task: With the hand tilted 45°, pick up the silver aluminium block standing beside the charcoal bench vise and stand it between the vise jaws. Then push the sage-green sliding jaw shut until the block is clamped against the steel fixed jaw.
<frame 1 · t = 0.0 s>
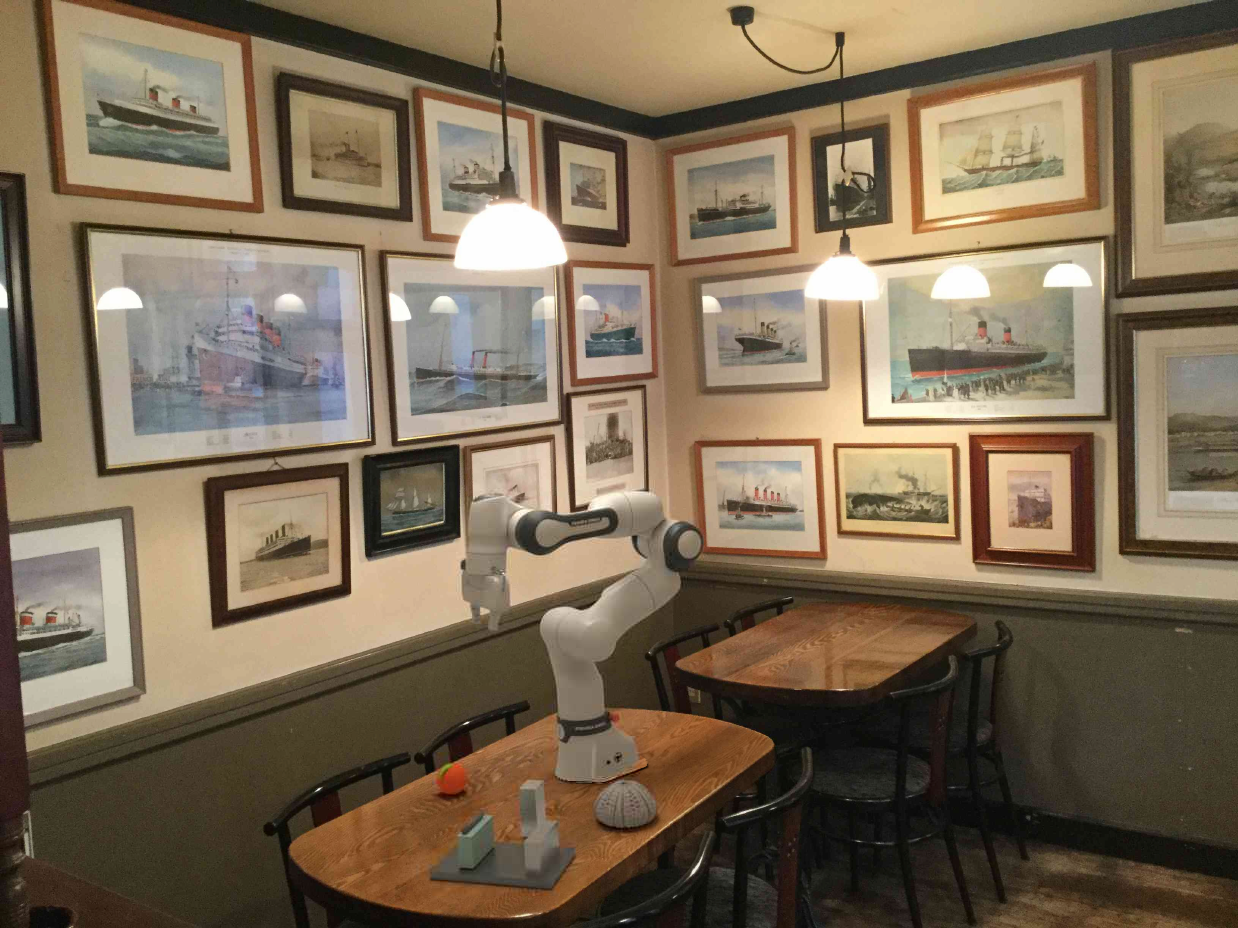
hand: (484, 626, 226), 39 cm above the table, tool pointing down, fingers open, 8 cm apart
clementine: (451, 794, 230), on the table
sliding jaw: (475, 837, 193), point 5 cm above the table, slide at 0.0 cm
block: (534, 831, 207), on the table
vise: (504, 866, 191), on the table
sea urchin shell: (626, 820, 210), on the table
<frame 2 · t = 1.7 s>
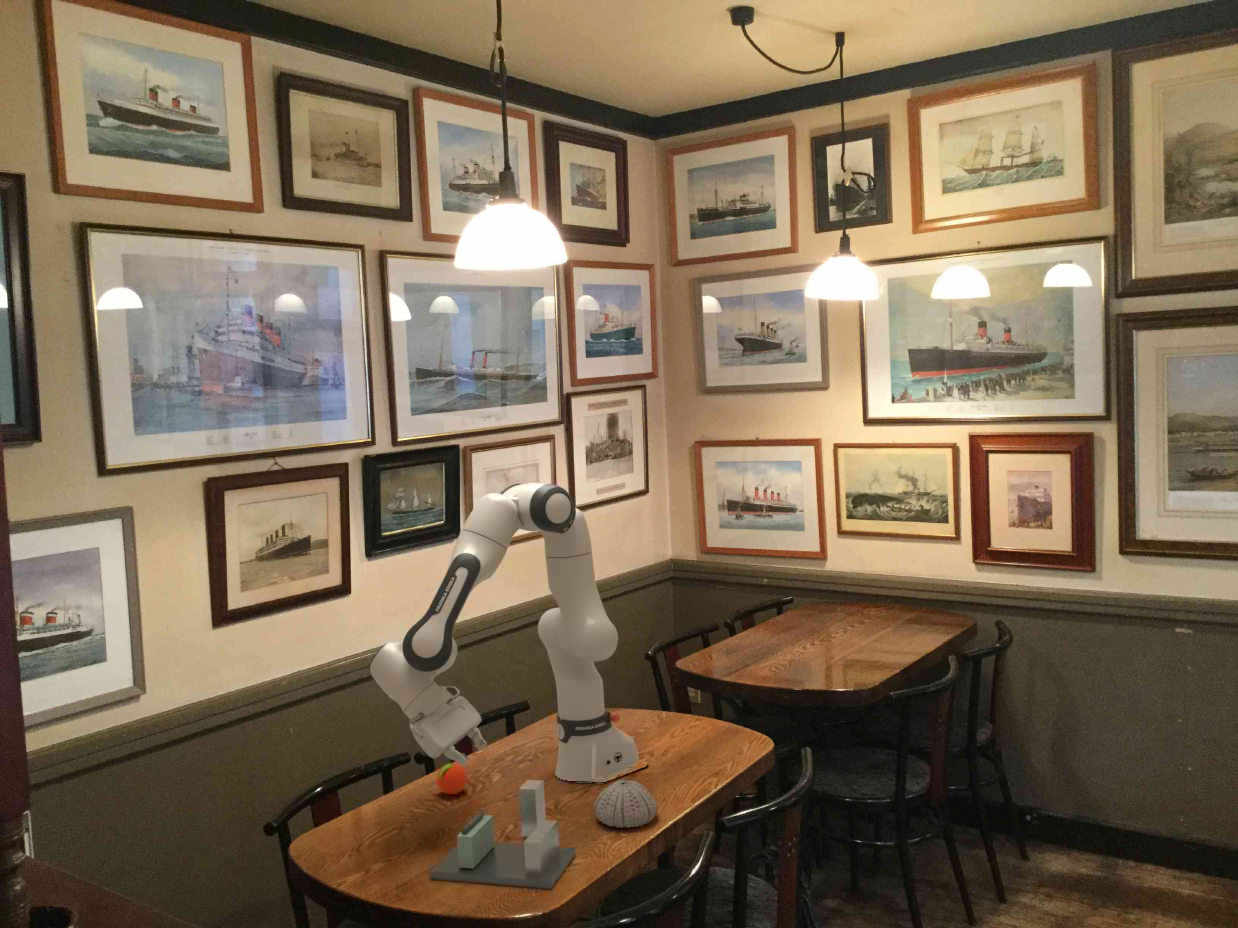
hand: (474, 755, 209), 16 cm above the table, tool tilted 45°, fingers open, 8 cm apart
nothing on the table moved.
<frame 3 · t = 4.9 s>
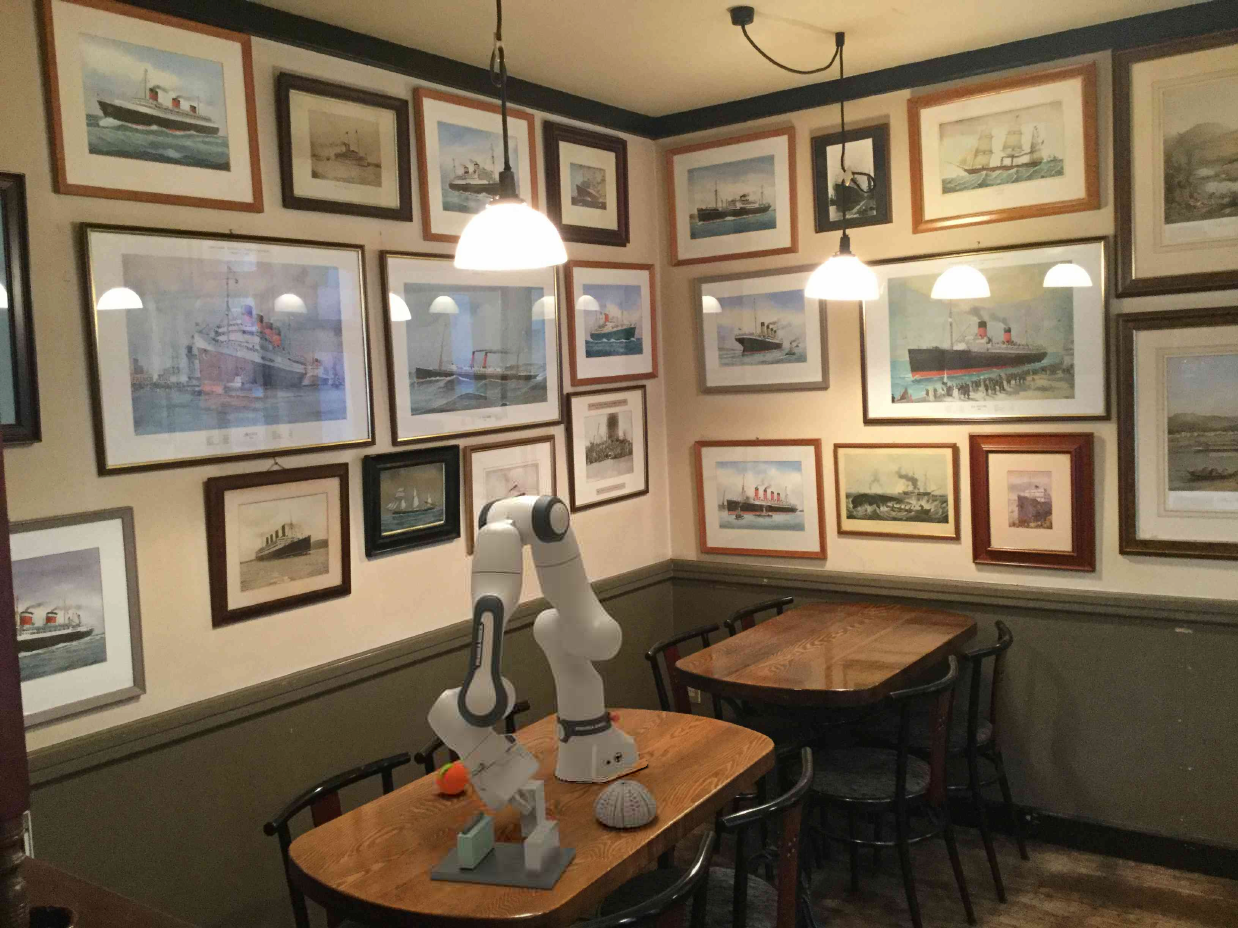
hand: (535, 805, 206), 6 cm above the table, tool tilted 45°, fingers closed on block, 5 cm apart
block: (534, 831, 207), on the table, touching gripper
everything else where it was.
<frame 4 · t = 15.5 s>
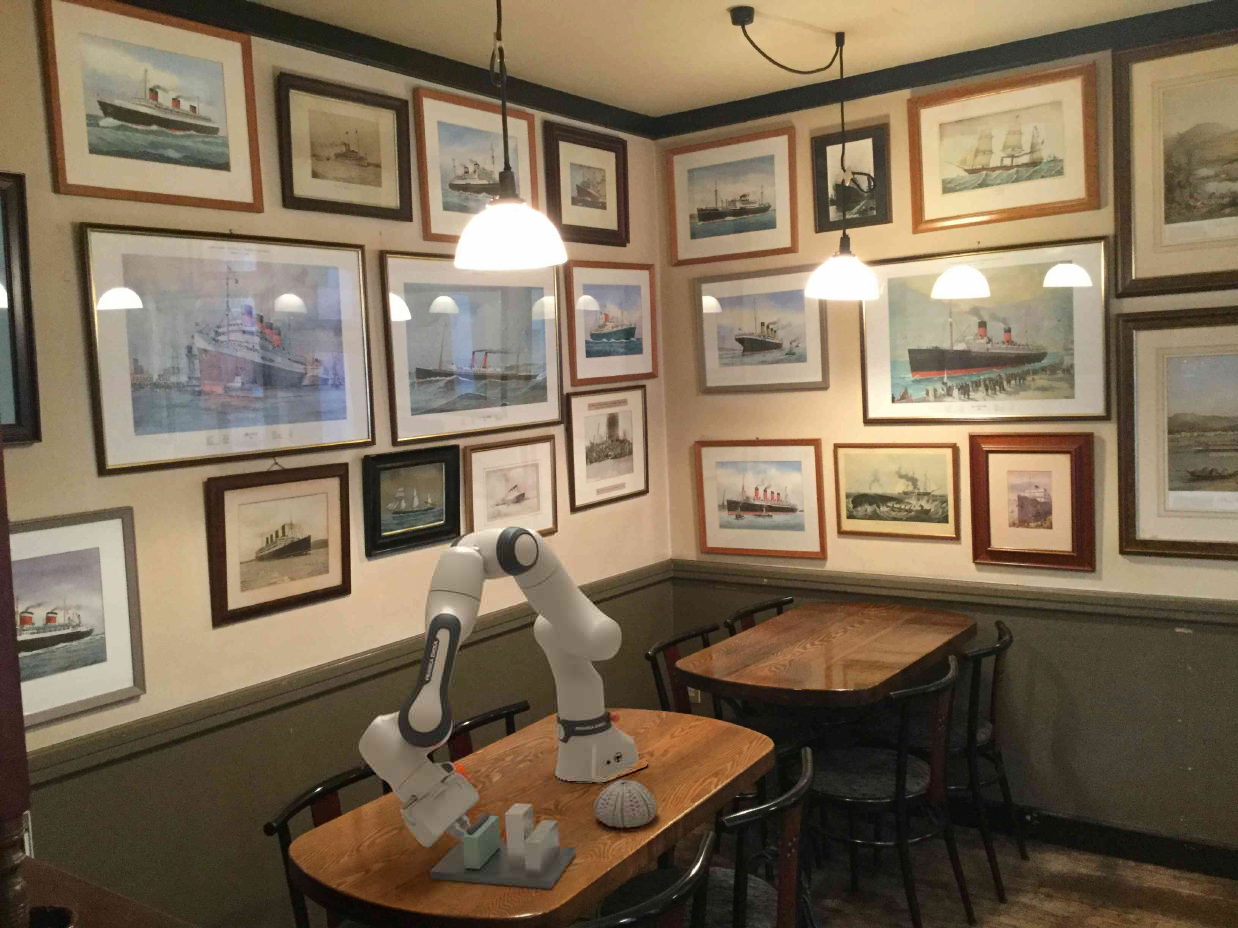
hand: (471, 839, 193), 5 cm above the table, tool tilted 45°, fingers closed, pressing on sliding jaw
sliding jaw: (481, 838, 192), point 5 cm above the table, slide at 1.2 cm, touching gripper
block: (521, 860, 190), point 1 cm above the table, touching vise
everything else where it was.
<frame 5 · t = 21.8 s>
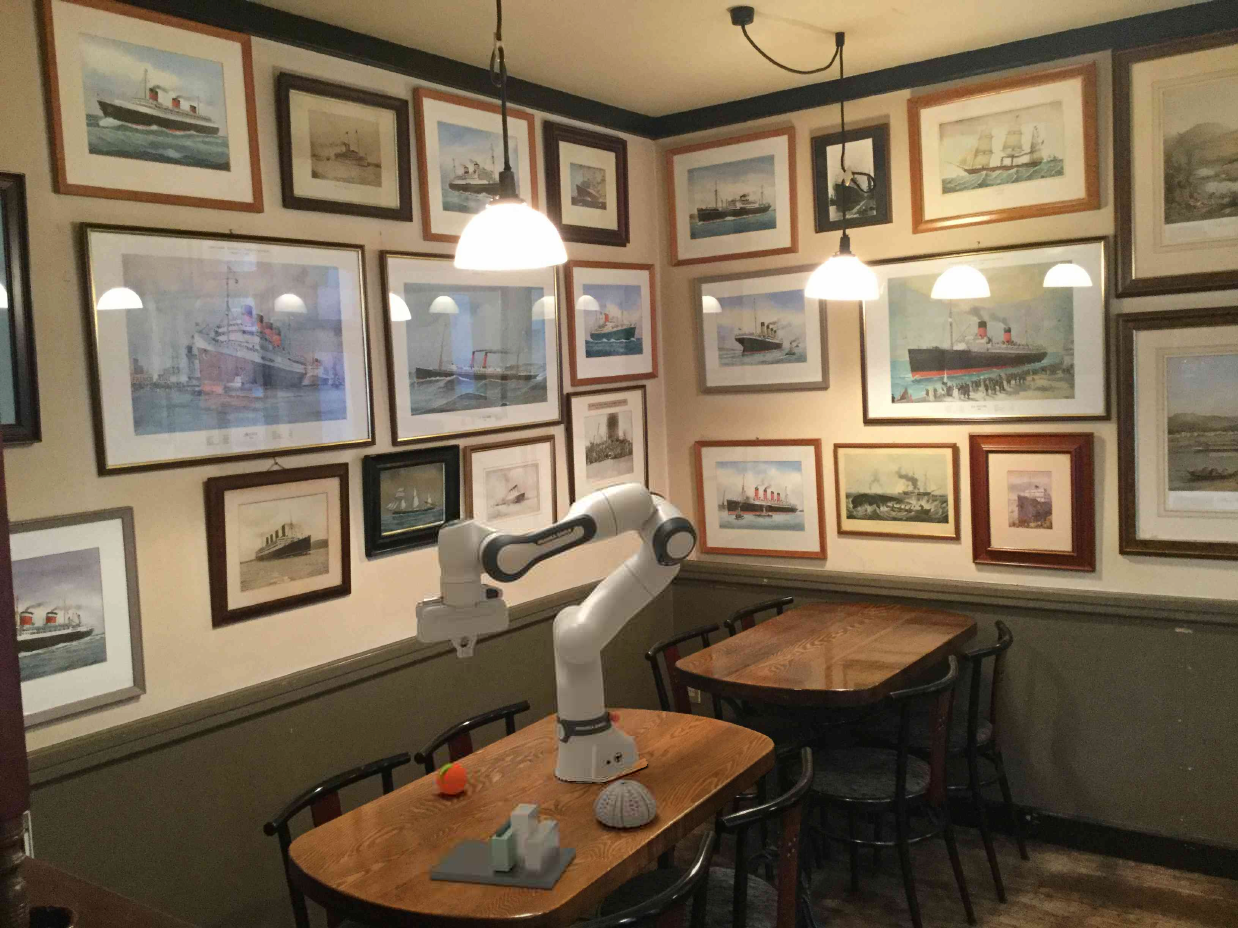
hand: (465, 656, 219), 34 cm above the table, tool pointing down, fingers closed
sliding jaw: (509, 840, 191), point 5 cm above the table, slide at 7.0 cm, touching block
block: (527, 860, 190), point 1 cm above the table, touching sliding jaw, vise
everything else where it was.
at the end: block 1.2 cm from the target spot on the vise, point 1.5 cm above the vise's base; block tilted 0°; sliding jaw slide at 7.0 cm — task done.
